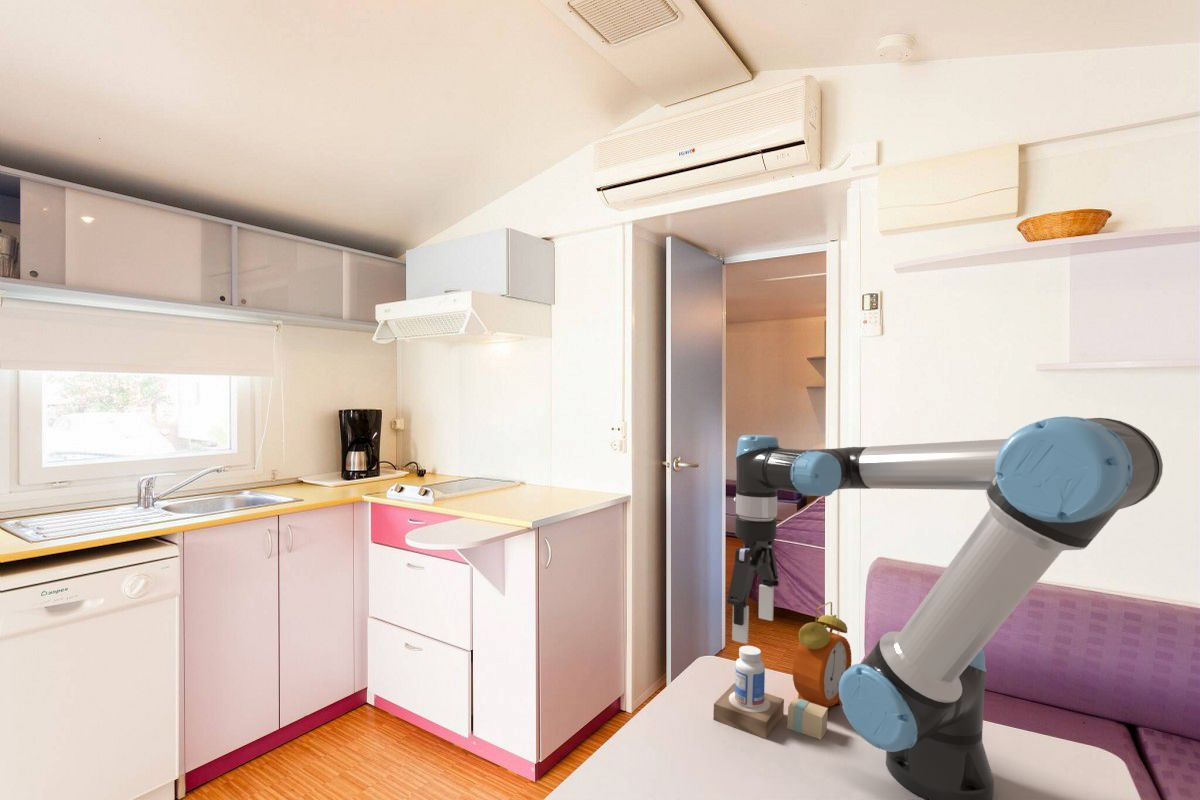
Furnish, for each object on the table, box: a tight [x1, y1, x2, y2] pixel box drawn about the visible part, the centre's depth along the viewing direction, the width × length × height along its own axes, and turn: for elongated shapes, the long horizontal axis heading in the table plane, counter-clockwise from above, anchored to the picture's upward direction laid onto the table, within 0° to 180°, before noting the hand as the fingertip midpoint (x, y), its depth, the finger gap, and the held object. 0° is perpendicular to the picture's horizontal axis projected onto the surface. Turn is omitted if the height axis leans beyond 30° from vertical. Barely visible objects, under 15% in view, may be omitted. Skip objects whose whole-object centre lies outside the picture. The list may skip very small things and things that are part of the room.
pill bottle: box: [734, 645, 766, 708], centre depth 112 cm, size 6×5×10 cm
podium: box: [712, 682, 785, 739], centre depth 112 cm, size 10×10×3 cm
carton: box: [787, 697, 829, 740], centre depth 109 cm, size 6×4×4 cm
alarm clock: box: [792, 601, 852, 710], centre depth 117 cm, size 13×6×20 cm, turn 133°
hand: (753, 629), depth 111 cm, fingers open, 13 cm apart
